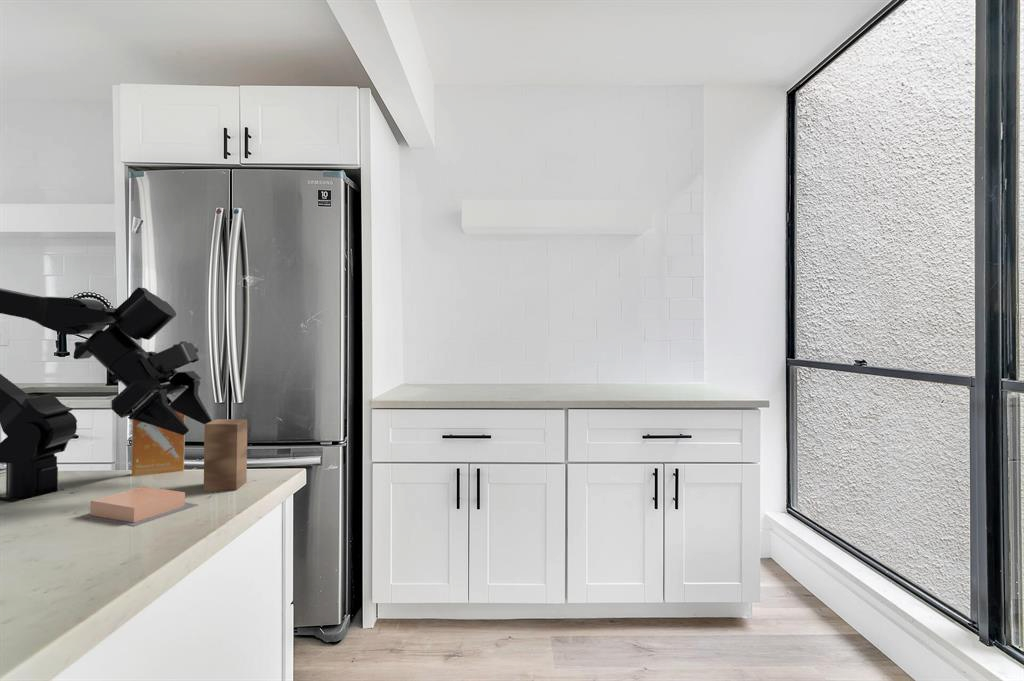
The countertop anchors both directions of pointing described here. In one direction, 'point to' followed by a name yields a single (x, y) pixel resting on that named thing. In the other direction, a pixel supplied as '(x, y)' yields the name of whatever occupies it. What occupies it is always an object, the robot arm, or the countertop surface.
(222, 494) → the countertop surface
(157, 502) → the terracotta tile
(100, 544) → the countertop surface
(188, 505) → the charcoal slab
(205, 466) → the walnut pillar
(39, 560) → the countertop surface
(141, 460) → the small box
